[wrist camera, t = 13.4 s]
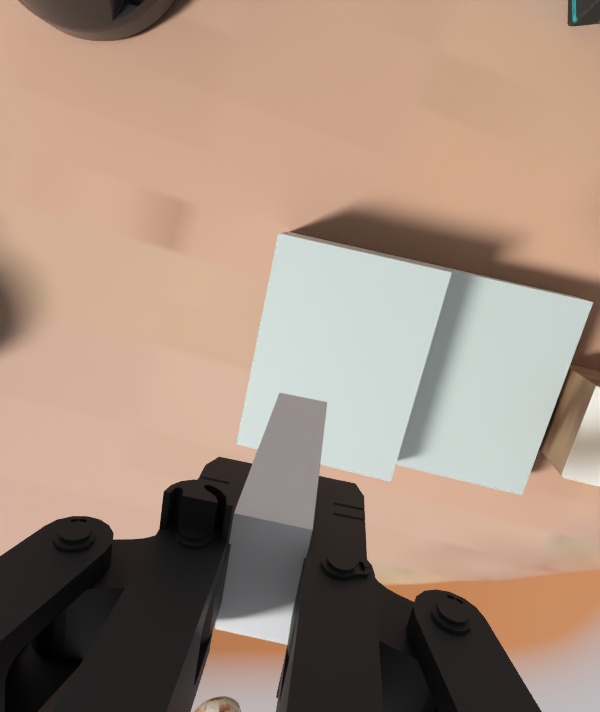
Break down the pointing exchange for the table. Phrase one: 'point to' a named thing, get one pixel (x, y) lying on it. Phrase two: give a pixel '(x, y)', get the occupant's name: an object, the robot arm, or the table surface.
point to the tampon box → (583, 12)
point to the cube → (576, 427)
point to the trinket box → (219, 705)
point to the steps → (411, 362)
